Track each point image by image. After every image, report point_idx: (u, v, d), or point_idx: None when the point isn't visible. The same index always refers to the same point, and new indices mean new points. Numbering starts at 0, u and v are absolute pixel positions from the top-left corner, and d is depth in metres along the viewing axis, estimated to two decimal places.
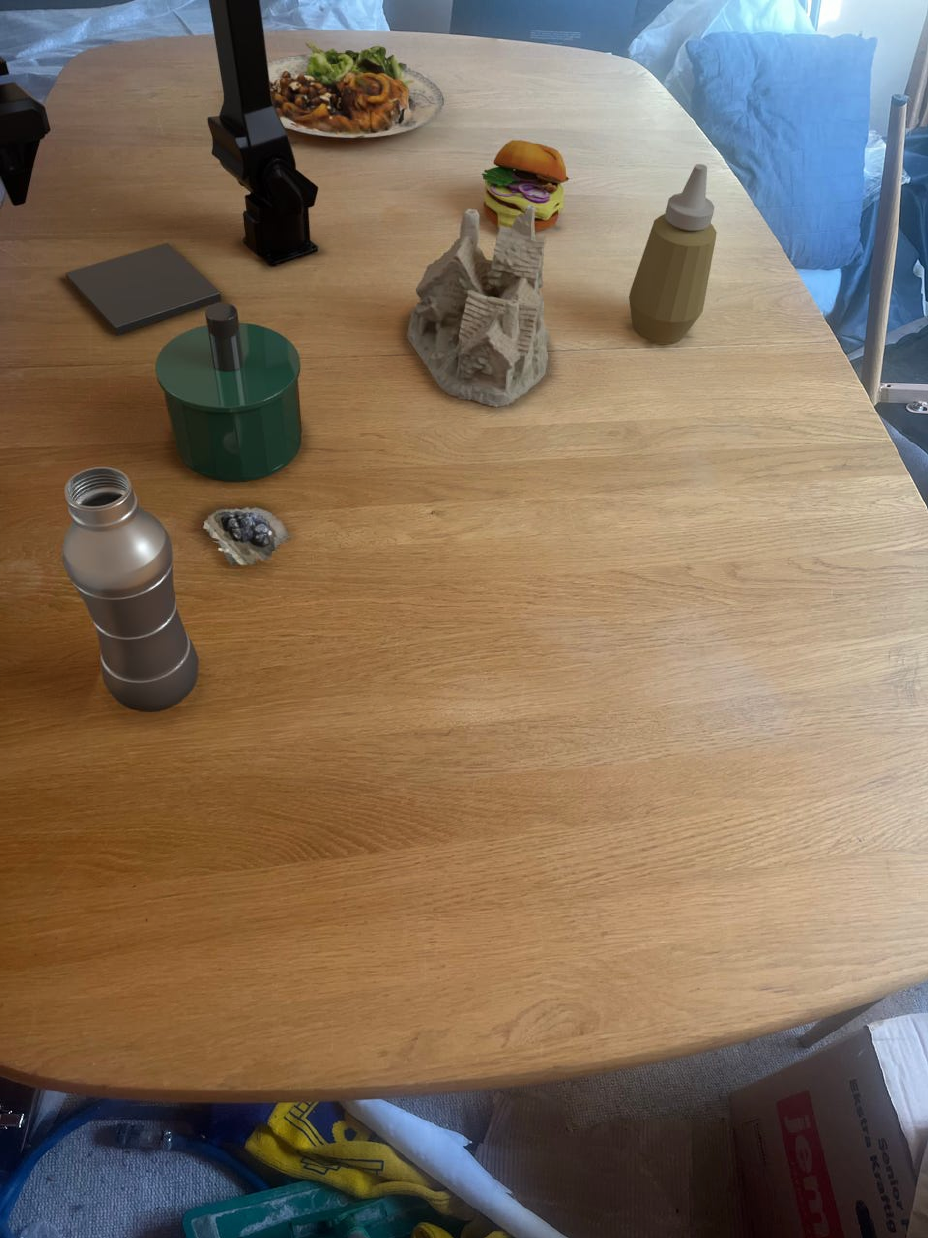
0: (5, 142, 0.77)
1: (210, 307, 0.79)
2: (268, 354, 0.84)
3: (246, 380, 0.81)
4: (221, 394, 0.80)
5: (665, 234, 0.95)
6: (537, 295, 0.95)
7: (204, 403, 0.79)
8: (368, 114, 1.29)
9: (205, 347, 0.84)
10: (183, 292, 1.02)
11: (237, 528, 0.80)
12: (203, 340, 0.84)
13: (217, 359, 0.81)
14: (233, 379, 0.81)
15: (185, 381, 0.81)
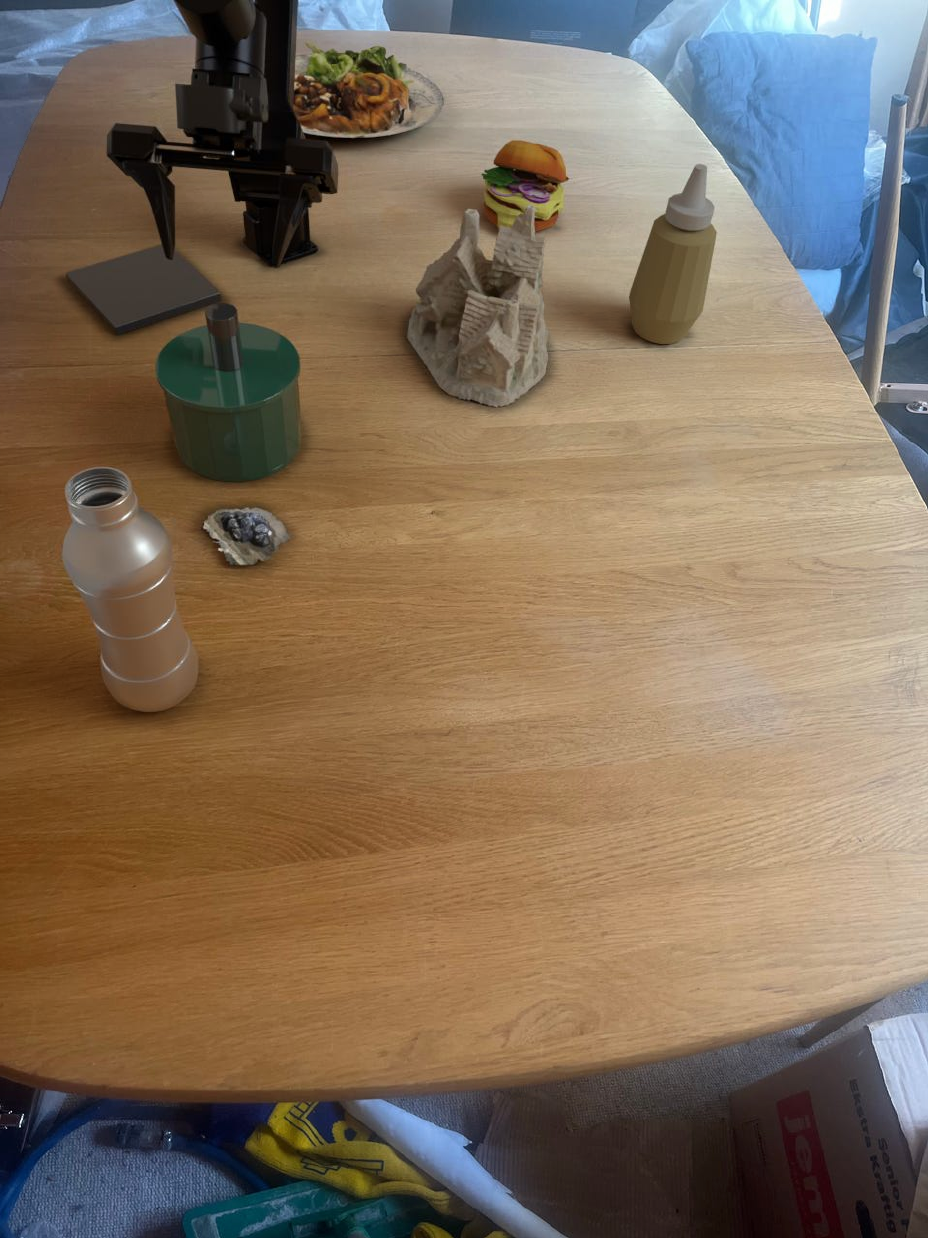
0: (333, 179, 0.82)
1: (210, 307, 0.79)
2: (268, 354, 0.84)
3: (246, 380, 0.81)
4: (221, 394, 0.80)
5: (665, 234, 0.95)
6: (537, 295, 0.95)
7: (204, 403, 0.79)
8: (368, 114, 1.29)
9: (205, 347, 0.84)
10: (183, 292, 1.02)
11: (237, 528, 0.80)
12: (203, 340, 0.84)
13: (217, 359, 0.81)
14: (233, 379, 0.81)
15: (185, 381, 0.81)
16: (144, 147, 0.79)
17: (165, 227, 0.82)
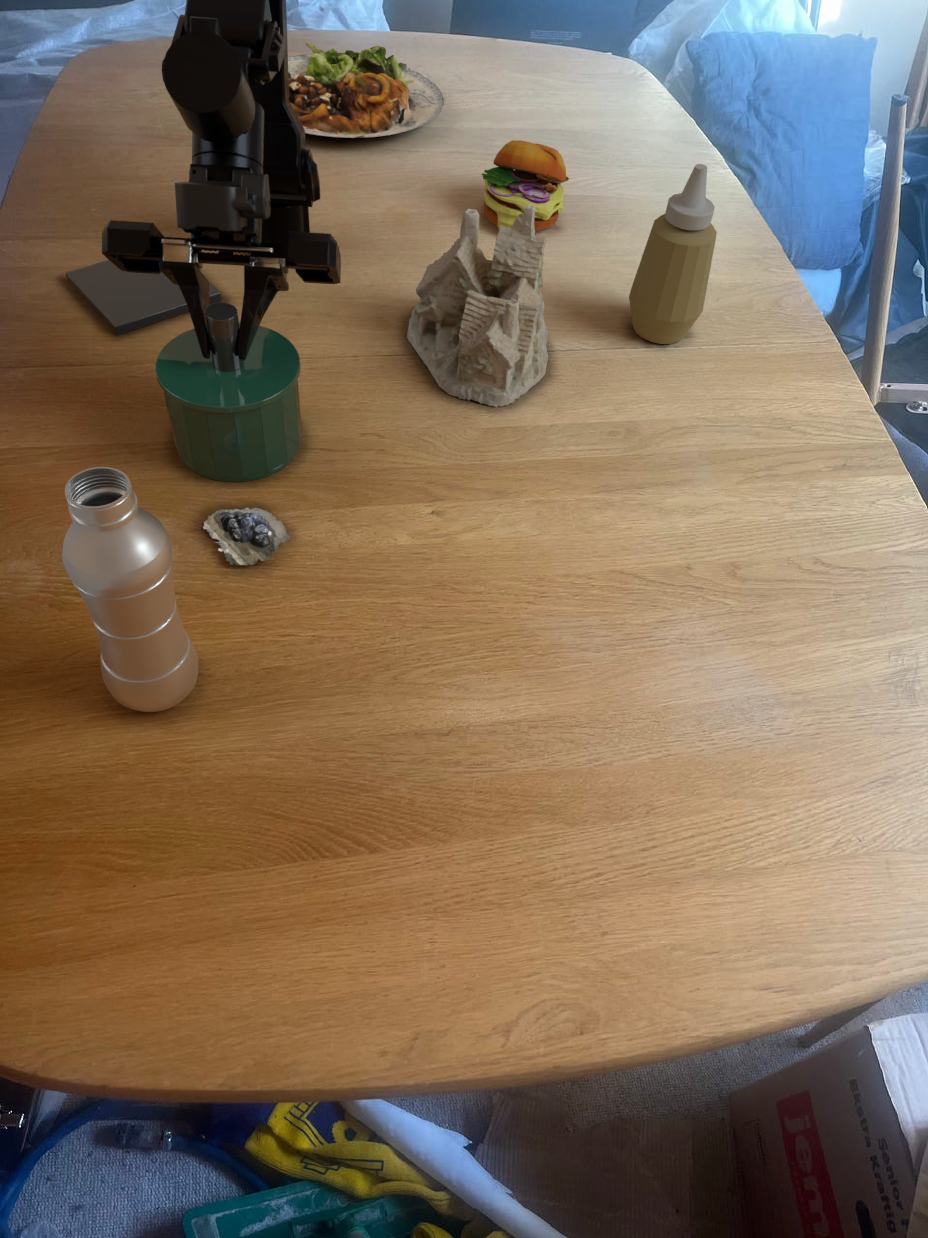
0: (337, 271, 0.80)
1: (210, 307, 0.79)
2: (268, 354, 0.84)
3: (246, 380, 0.81)
4: (221, 394, 0.80)
5: (665, 234, 0.95)
6: (537, 295, 0.95)
7: (204, 403, 0.79)
8: (368, 114, 1.29)
9: None
10: None
11: (237, 528, 0.80)
12: None
13: (217, 359, 0.81)
14: (233, 379, 0.81)
15: (185, 381, 0.81)
16: (141, 245, 0.77)
17: (202, 326, 0.79)
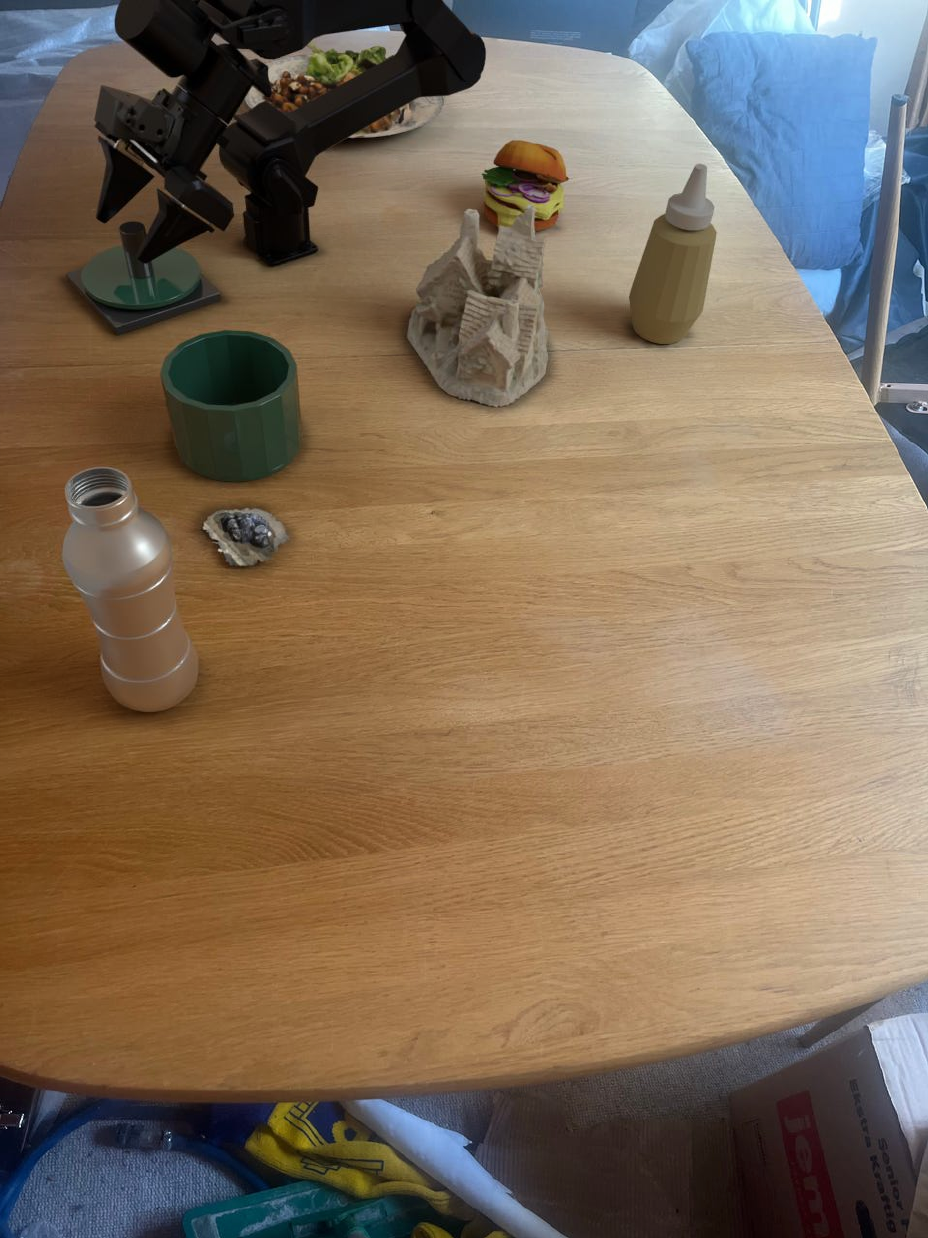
0: (197, 213, 0.91)
1: (132, 222, 0.99)
2: (168, 282, 1.01)
3: (128, 286, 1.00)
4: (102, 284, 1.00)
5: (665, 234, 0.95)
6: (537, 295, 0.95)
7: (85, 282, 1.00)
8: None
9: None
10: None
11: (237, 528, 0.80)
12: None
13: (126, 263, 1.01)
14: (124, 281, 1.01)
15: (102, 266, 1.02)
16: None
17: (103, 196, 0.99)
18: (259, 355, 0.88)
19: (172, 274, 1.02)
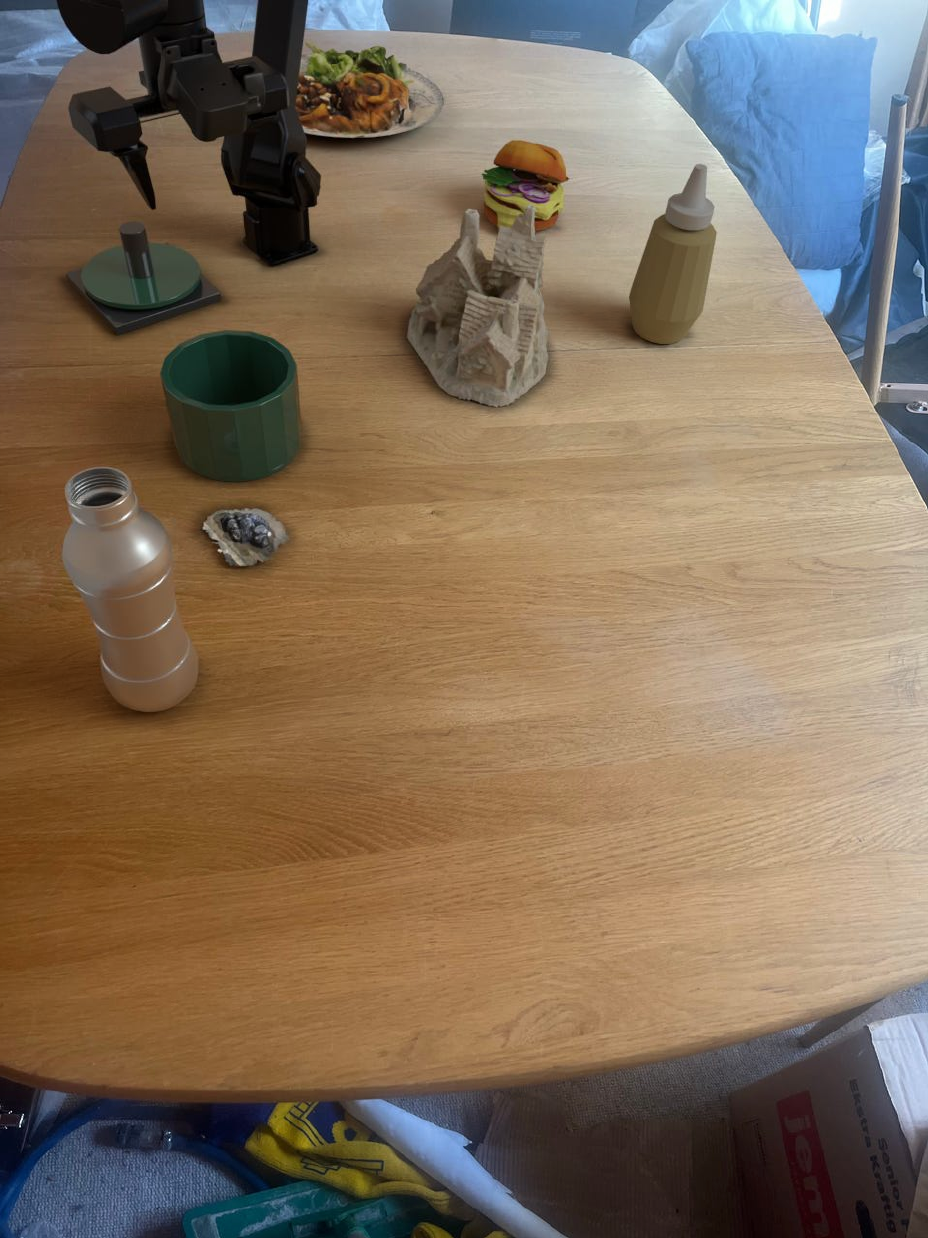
0: None
1: (132, 222, 0.99)
2: (168, 282, 1.01)
3: (128, 286, 1.00)
4: (102, 284, 1.00)
5: (665, 233, 0.95)
6: (537, 295, 0.95)
7: (85, 282, 1.00)
8: (368, 114, 1.29)
9: None
10: None
11: (236, 529, 0.80)
12: (155, 253, 1.04)
13: (126, 263, 1.01)
14: (124, 281, 1.01)
15: (102, 266, 1.02)
16: (136, 136, 0.81)
17: (150, 187, 0.87)
18: (259, 355, 0.88)
19: (172, 274, 1.02)
